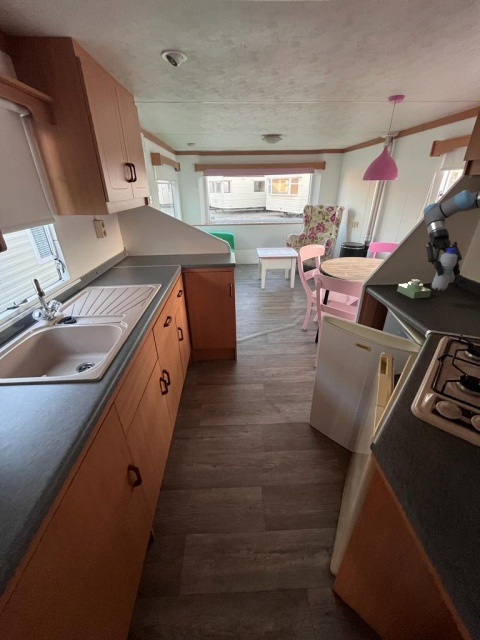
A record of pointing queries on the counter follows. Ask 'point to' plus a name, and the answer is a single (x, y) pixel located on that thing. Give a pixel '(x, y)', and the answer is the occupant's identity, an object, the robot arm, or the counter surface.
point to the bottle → (445, 269)
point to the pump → (416, 282)
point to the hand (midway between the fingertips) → (448, 274)
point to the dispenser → (414, 290)
